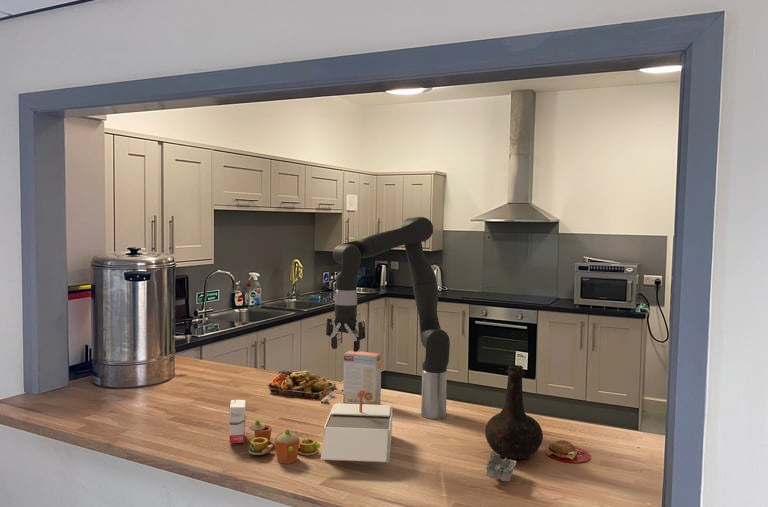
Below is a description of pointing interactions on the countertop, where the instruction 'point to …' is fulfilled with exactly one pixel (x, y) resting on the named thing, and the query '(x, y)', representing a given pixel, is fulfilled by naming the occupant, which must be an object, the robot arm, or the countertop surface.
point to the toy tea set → (281, 444)
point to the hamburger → (566, 452)
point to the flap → (361, 408)
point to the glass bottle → (514, 423)
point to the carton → (357, 438)
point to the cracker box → (362, 377)
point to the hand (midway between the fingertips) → (345, 350)
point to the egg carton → (499, 467)
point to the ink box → (237, 421)
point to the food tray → (302, 385)
